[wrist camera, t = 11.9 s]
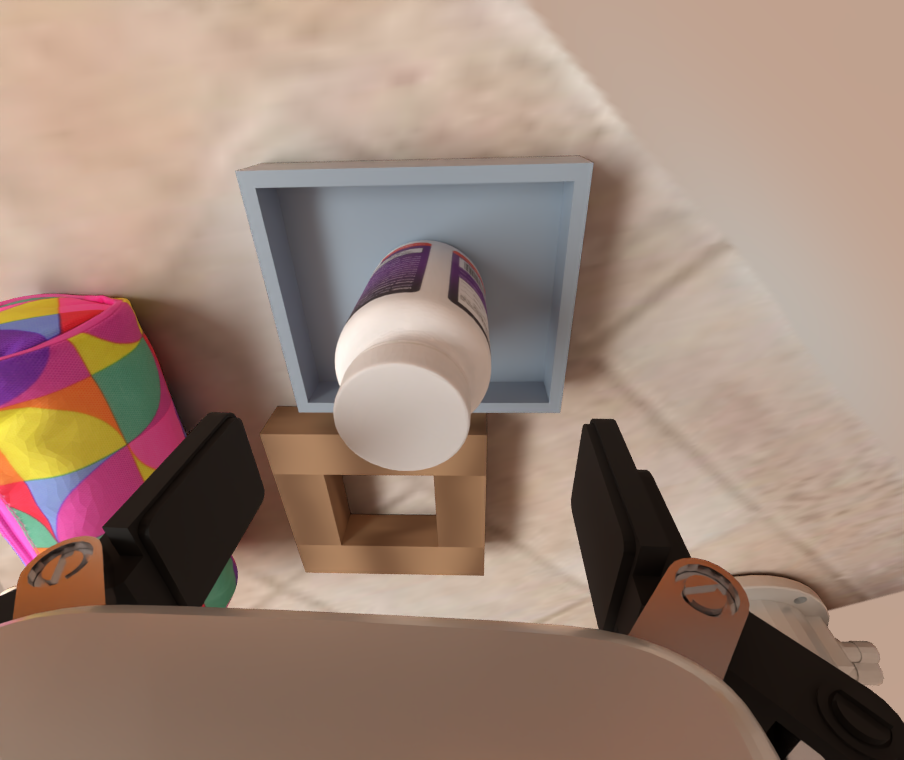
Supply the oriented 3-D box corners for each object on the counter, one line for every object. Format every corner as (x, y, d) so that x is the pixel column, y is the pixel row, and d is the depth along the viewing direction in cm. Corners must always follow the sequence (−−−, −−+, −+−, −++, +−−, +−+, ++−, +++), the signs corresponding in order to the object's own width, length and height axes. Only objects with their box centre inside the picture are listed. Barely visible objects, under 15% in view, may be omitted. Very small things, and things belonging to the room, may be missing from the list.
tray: (579, 155, 18) (593, 162, 16) (552, 385, 24) (560, 412, 22) (261, 163, 18) (235, 170, 16) (313, 386, 24) (298, 412, 22)
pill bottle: (364, 331, 22) (301, 469, 14) (380, 223, 19) (313, 316, 11) (469, 356, 22) (468, 502, 14) (500, 254, 20) (521, 365, 11)
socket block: (485, 406, 25) (487, 435, 23) (482, 543, 31) (483, 575, 29) (277, 406, 25) (259, 434, 23) (316, 541, 32) (305, 572, 30)
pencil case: (-33, 268, 22) (-308, 359, 14) (150, 262, 21) (-31, 352, 13) (149, 549, 33) (53, 682, 26) (270, 549, 33) (209, 685, 25)
